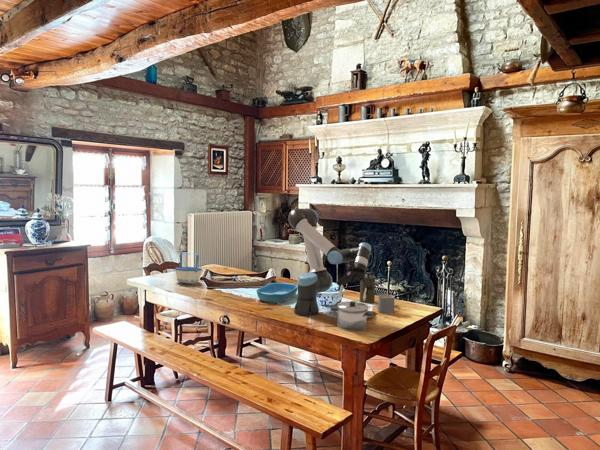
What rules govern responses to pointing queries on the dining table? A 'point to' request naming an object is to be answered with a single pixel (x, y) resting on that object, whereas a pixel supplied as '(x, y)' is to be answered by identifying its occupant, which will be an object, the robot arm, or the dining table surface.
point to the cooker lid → (352, 306)
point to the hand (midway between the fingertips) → (351, 297)
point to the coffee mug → (386, 304)
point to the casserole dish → (277, 292)
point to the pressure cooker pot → (352, 319)
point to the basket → (188, 272)
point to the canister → (371, 294)
